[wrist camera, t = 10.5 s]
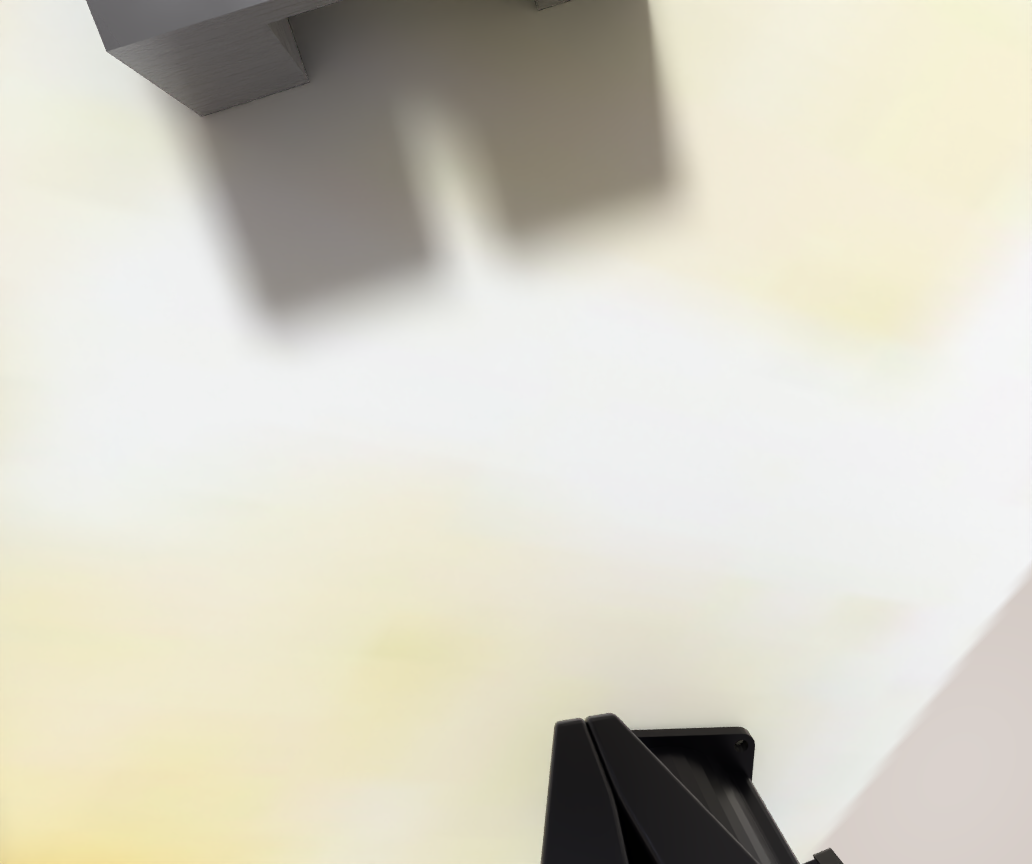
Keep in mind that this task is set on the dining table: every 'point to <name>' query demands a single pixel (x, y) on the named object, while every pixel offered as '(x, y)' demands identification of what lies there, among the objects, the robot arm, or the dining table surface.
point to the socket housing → (210, 46)
